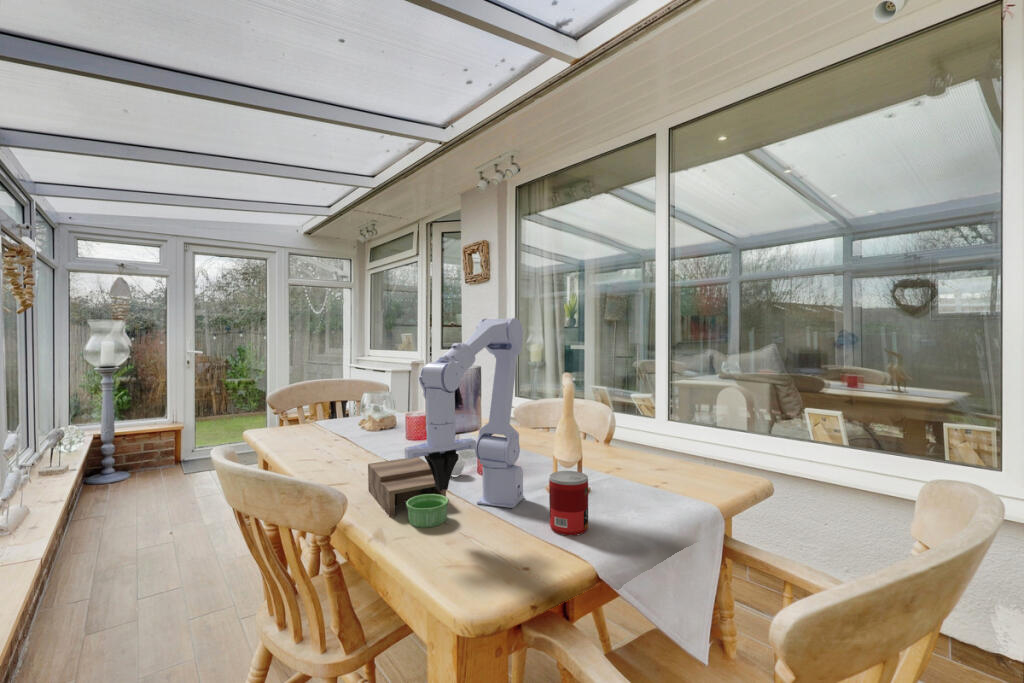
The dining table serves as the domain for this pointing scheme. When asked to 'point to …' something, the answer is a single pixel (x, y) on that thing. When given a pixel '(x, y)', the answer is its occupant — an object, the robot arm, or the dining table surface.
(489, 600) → the dining table surface
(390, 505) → the walnut shelf
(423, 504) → the ramekin
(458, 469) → the white sugar bowl
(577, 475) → the canned food
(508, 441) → the robot arm
